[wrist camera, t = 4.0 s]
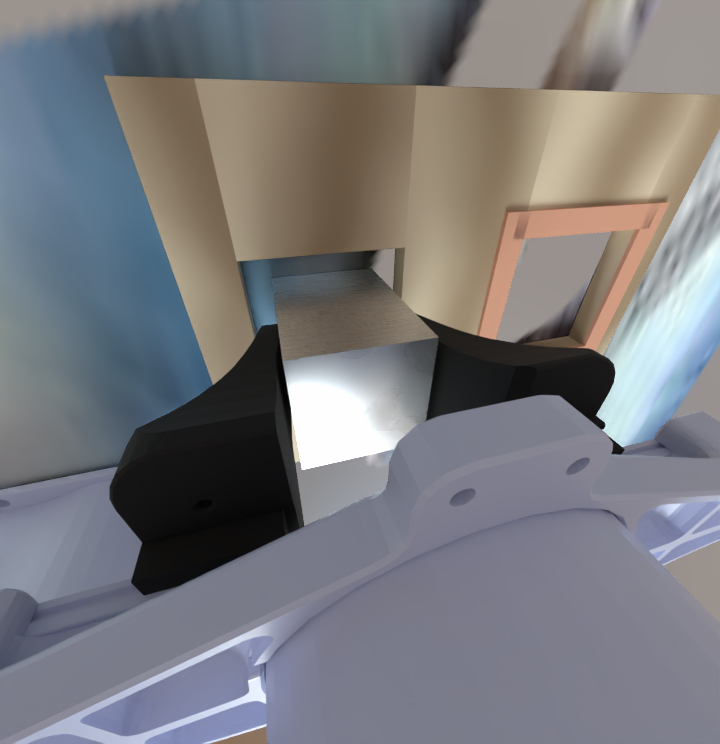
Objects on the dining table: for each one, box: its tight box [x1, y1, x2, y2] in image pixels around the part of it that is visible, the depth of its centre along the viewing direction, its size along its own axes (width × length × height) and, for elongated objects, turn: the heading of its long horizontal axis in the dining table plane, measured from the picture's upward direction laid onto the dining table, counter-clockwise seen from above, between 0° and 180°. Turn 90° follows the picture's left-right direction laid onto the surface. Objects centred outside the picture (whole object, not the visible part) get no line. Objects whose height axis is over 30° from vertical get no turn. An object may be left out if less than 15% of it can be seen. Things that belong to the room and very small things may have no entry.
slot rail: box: [104, 76, 720, 462], centre depth 14 cm, size 21×15×1 cm
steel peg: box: [272, 268, 439, 469], centre depth 11 cm, size 4×4×6 cm
